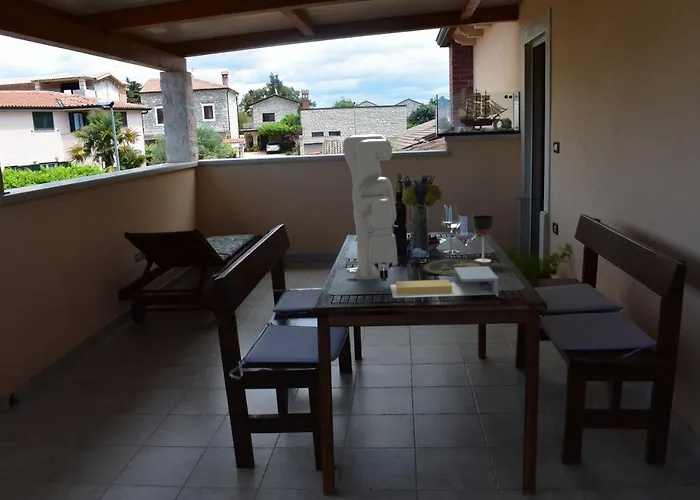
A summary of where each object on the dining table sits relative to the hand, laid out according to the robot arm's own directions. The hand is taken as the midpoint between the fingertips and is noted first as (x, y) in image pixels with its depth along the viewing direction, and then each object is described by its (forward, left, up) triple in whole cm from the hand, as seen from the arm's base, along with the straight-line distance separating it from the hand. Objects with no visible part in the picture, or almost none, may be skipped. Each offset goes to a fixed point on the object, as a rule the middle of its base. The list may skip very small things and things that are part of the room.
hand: (384, 280), depth 227 cm
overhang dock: (+22, +1, -6) cm, 23 cm away
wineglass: (+47, +50, -6) cm, 69 cm away
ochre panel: (+15, +1, -4) cm, 16 cm away
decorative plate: (+33, +34, -6) cm, 48 cm away
